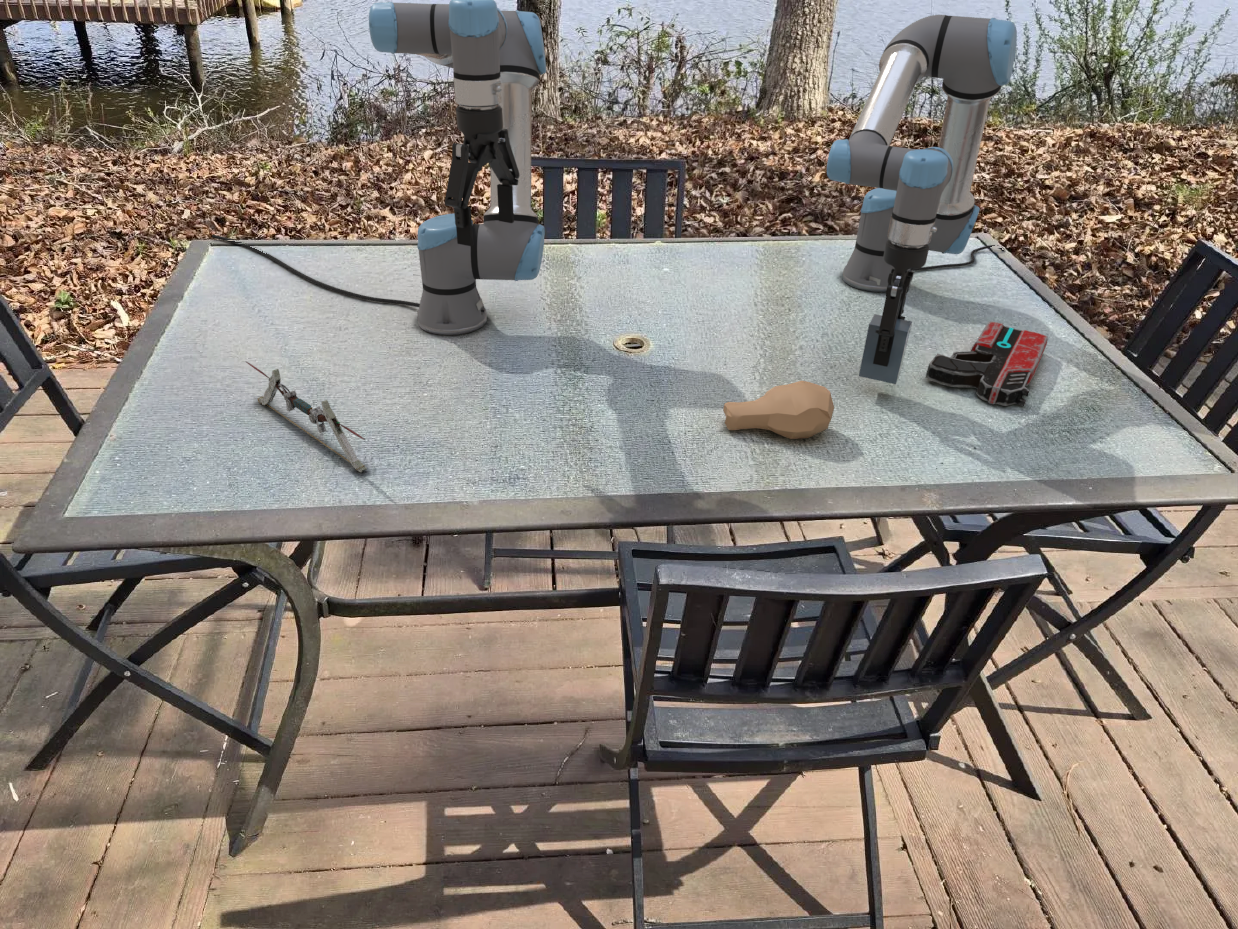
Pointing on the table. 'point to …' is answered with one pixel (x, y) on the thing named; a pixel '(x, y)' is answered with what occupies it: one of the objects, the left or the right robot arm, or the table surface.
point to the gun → (993, 364)
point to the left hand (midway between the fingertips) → (486, 232)
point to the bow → (311, 415)
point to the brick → (896, 355)
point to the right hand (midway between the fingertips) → (883, 358)
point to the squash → (784, 411)
